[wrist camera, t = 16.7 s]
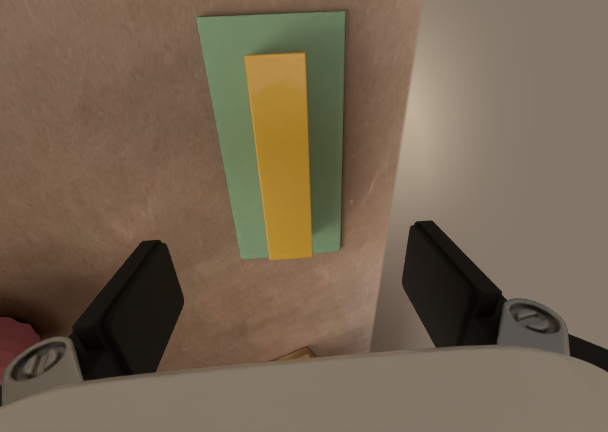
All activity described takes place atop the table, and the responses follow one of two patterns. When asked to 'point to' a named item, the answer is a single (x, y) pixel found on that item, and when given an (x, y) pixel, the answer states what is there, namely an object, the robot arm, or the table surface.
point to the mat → (238, 120)
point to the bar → (282, 149)
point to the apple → (14, 340)
